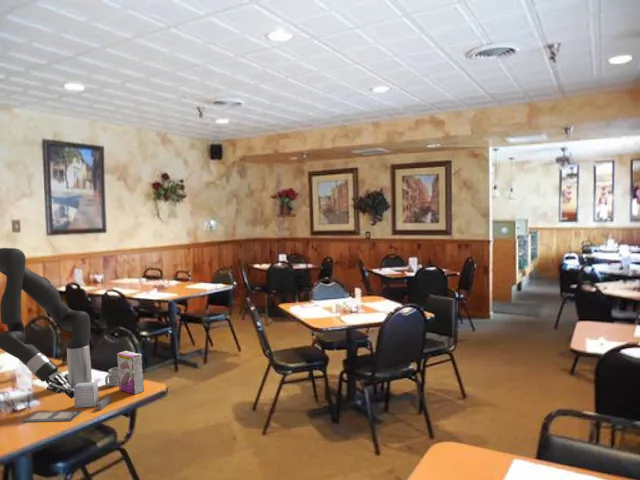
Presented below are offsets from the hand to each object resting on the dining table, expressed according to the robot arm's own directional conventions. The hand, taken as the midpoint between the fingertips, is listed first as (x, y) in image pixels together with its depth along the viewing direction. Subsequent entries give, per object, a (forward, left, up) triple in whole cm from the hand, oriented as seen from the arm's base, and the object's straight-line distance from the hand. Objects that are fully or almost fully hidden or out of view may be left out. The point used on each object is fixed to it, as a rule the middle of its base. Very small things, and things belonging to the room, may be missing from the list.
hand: (74, 396), depth 197 cm
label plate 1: (+9, -8, -4) cm, 13 cm away
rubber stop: (0, +12, -4) cm, 13 cm away
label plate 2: (+9, +1, -4) cm, 10 cm away
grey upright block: (-1, +4, -4) cm, 6 cm away
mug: (-24, +5, -5) cm, 25 cm away
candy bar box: (-16, +16, -4) cm, 23 cm away
